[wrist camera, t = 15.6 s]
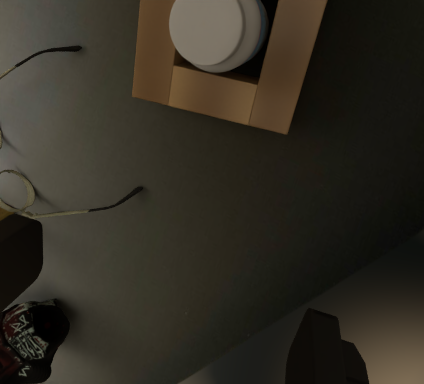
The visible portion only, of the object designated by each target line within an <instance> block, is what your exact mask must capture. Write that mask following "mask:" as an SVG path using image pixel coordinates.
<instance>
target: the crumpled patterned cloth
mask: <svg viewBox="0 0 424 384" xmlns="http://www.w3.org/2000/svg"><path fill="white" fill-rule="evenodd" d="M55 300H56V299H52V300H49V301H45V302H36V301H30V302H26V303H22V304H16V305H14V306H13V307H11V308H9V309H7V310H5V311H3V312H1V313H0V384H28V383H42V382H45V381H46V380H47V379H48V378H49V377H50V375H51V363H52V361H53V357H54V355H55V353H56V351H57V349H58V347H59V346H60V345H61V344H62V343H63V342H64V340H65V338H66V336H67V334H68V332H69V329H70V322H69V320H68V318H67V317H66V316H65V314H64V313H63V311H62V310H61V309H60V308H59V307H58V305H57V303H56V302H55Z"/></svg>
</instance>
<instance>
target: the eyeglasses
mask: <svg viewBox="0 0 424 384" xmlns="http://www.w3.org/2000/svg"><path fill="white" fill-rule="evenodd" d="M81 48H82V47H80V46H70V47H60V48H51V49H47V50H43V51H40V52H37V53H35V54H33V55H31V56H30V57H28V58H26V59H25V60H23V61H21V62H20V63H18V64H16V65H15V66H14V67H12V68H10V69H9V70H7V71H6V72H4V73H3V74H1V75H0V79H1V78H3V77H4V76H5V75H7V74H8V73H9V72H11V71H12V70H14V69H15V68H16V67H18V66H20V65H22V64H23V63H25V62H26V61H28V60H30V59H31V58H33V57H34V56H37V55H39V54H42V53H45V52H55V51H69V52H76V51H79V50H80V49H81ZM1 133H2V132H1V129H0V149H1V147H2V136H1ZM3 172H8V173H10V172H12V173H14V174H16V175H18V176H19V177H20V178H21V179H22V180H23V182H24V183H25V185H26V187H27V191H28V200H27V202H26V204H25V206H24V207H23V208H22V209H15V208H12V207H10V206H8V205H6V204H5V203H4V202H3V201H2V200H1V199H0V207H1V208H3V209H5V210H7V211H9V212H18V211H22V215H23V216H25V217H28V218H31V219H32V218H41V217H50V216H58V215H67V214H76V213H84V212H91V211H98V210H106V209H109V208H113V207H115V206H117V205H119V204H121V203H123V202H125V201H126V200H128V199H129V198H131V197H132V196H134V195H135V194H137V193H138V192H140V191H141V190H142V189H143V187H137V188H135V189H134V190H133V191H132V192H131V193H130V194H129V195H127V196H126V197H125V198H123V199H122V200H120V201H119V202H118V203H116V204H115V205H112V206H109V207H103V208H97V209H90V210H78V211H66V212H57V213H49V214H39V215H38V214H37V213H35V214H34V215H33V214H32V213H30V212H29V211H28V212H25V211H24V210H25V208H26V207H28V206H31V205H32V204H33V203H34V200H35V192H34V189H33V187H32V185H31V183H30V182H29V181H28V179H26V178H25V177H24V176H23V175H22V174H20V173H19V172H17V171H14V170H4V171H1V172H0V174H1V173H3Z"/></svg>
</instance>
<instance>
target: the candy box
mask: <svg viewBox="0 0 424 384" xmlns="http://www.w3.org/2000/svg"><path fill="white" fill-rule="evenodd" d="M6 205H7V204H6ZM8 206H9V205H8ZM10 207H11V206H10ZM11 214H14V212H9V211H7V210H5V209H3V208H1V207H0V221H1V220H2V219H4V218H5V217H7V216H9V215H11Z"/></svg>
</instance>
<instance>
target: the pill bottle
mask: <svg viewBox="0 0 424 384" xmlns="http://www.w3.org/2000/svg"><path fill="white" fill-rule="evenodd" d="M169 29H170V35H171V39H172V41H173V44H174V46H175V47H176V49H177V50H178V52H179V53H180V54H181V55H182V56H183V57H184V58H185V59H186V60H188V61H189V62H191V63H192V64H193V65H194V66H196V67H198V68H200V69H202V70H204V71H208V72H214V73H219V72H226V71H229V70H232V69H234V68H236V67H238V66H240V65H242V64H244V63H245V62H247V61H249V60H250V59H252V58H253V57H254V56H256V55H257V54H258V53H259V51H260V50H261V49H262V47H263V46H264V44H265V41H266V39H267V35H268V30H269V20H268V15H267V12H266V9H265V7H264V5H263V3H262V2H261V0H176V1H175V2H174V4H173V7H172V9H171V13H170V19H169Z"/></svg>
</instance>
